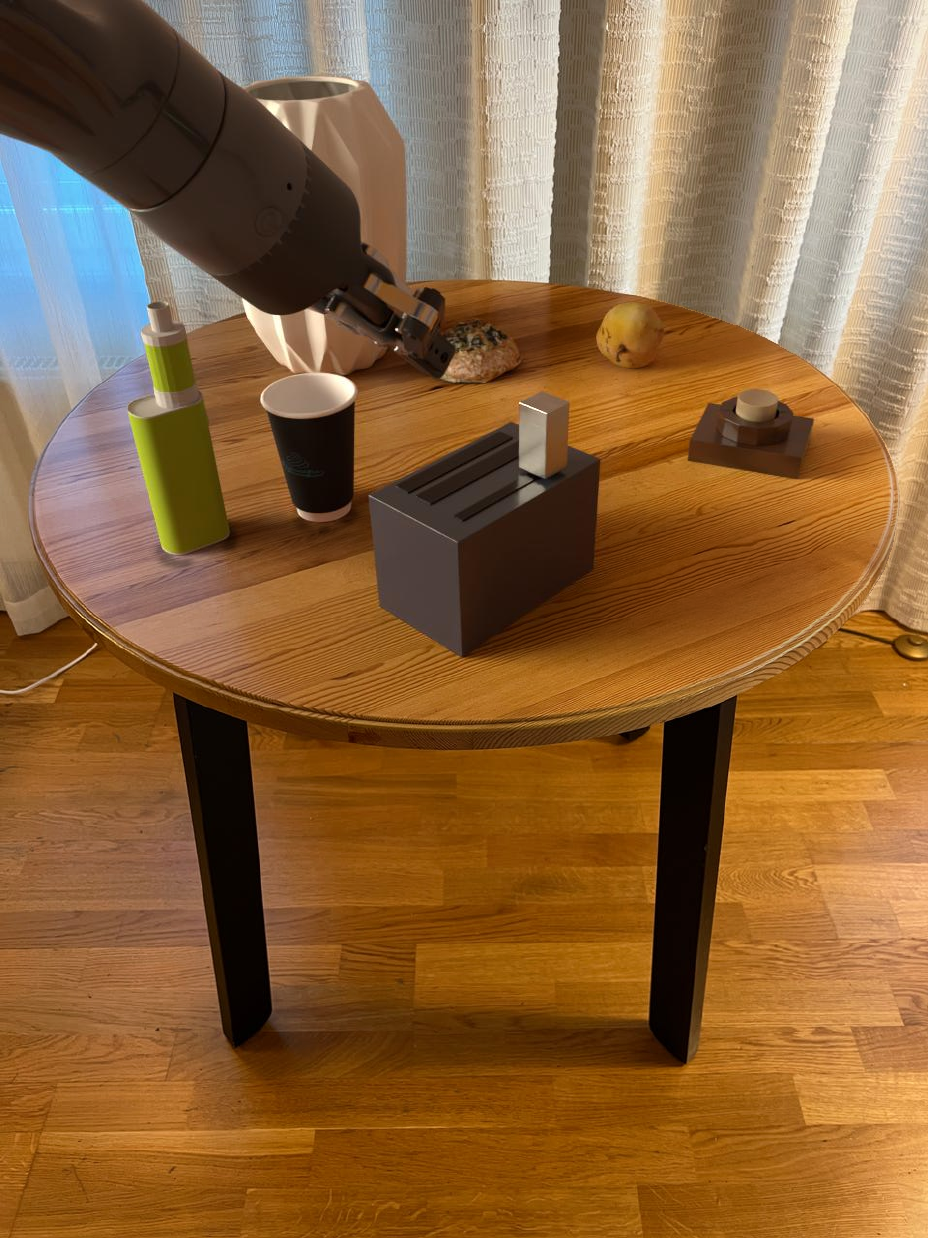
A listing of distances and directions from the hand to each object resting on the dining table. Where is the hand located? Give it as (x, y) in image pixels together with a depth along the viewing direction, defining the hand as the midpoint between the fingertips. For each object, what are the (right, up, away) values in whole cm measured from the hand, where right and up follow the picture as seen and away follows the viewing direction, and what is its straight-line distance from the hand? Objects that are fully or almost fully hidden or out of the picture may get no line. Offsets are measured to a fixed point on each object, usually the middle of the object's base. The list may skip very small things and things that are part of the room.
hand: (440, 361), depth 62 cm
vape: (-21, -9, +25) cm, 34 cm away
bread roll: (+2, +12, +51) cm, 53 cm away
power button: (+28, +3, +32) cm, 43 cm away
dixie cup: (-11, -6, +29) cm, 31 cm away
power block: (+28, 0, +34) cm, 45 cm away
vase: (-14, +14, +54) cm, 58 cm away
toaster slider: (+7, -5, +12) cm, 15 cm away
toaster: (+3, -13, +18) cm, 23 cm away
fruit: (+19, +12, +50) cm, 56 cm away
